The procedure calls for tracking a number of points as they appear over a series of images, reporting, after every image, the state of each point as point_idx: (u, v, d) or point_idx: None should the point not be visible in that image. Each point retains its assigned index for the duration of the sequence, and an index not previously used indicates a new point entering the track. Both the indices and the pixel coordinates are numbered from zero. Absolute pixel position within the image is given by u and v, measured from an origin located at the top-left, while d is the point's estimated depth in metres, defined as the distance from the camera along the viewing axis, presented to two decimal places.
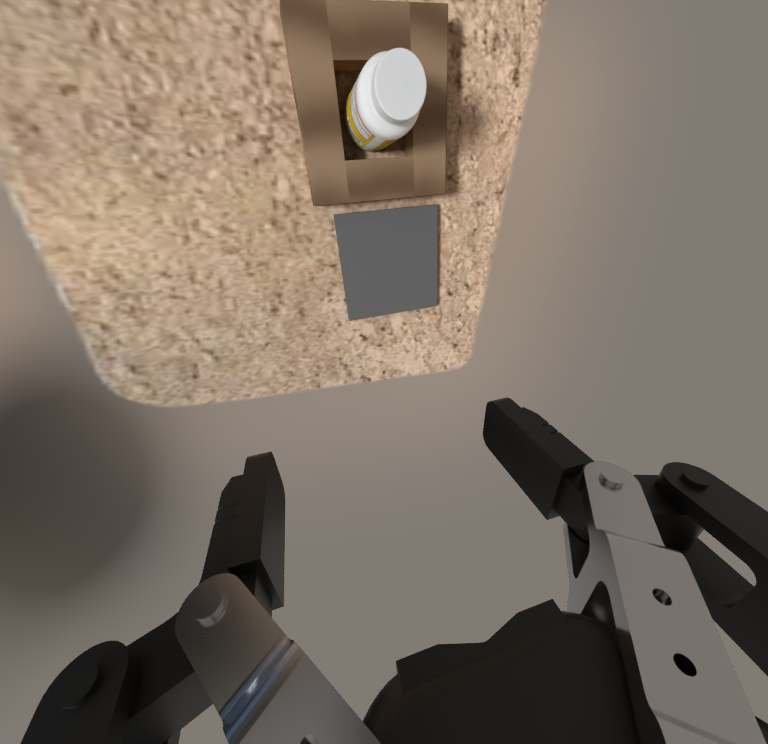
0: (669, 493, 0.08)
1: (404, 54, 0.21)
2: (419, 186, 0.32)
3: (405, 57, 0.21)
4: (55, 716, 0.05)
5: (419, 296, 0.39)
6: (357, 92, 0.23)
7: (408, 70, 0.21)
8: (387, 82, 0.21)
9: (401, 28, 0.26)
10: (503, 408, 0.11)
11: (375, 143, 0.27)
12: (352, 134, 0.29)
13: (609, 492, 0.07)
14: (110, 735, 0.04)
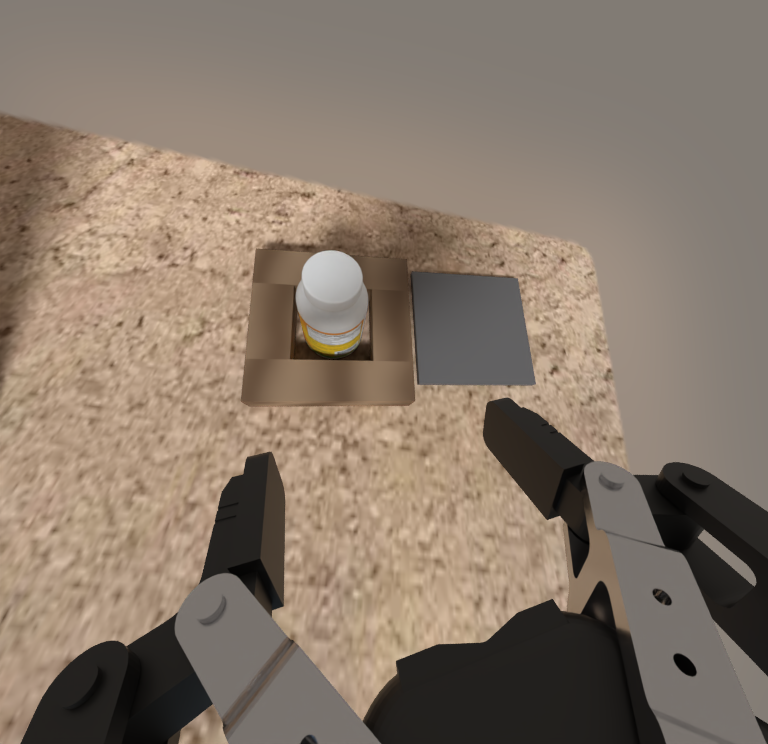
0: (669, 493, 0.08)
1: (307, 269, 0.20)
2: (399, 285, 0.29)
3: (309, 269, 0.20)
4: (55, 716, 0.05)
5: (506, 297, 0.32)
6: (327, 330, 0.22)
7: (320, 267, 0.20)
8: (329, 289, 0.19)
9: (270, 291, 0.26)
10: (503, 408, 0.11)
11: None
12: (348, 350, 0.27)
13: (609, 492, 0.07)
14: (110, 735, 0.04)
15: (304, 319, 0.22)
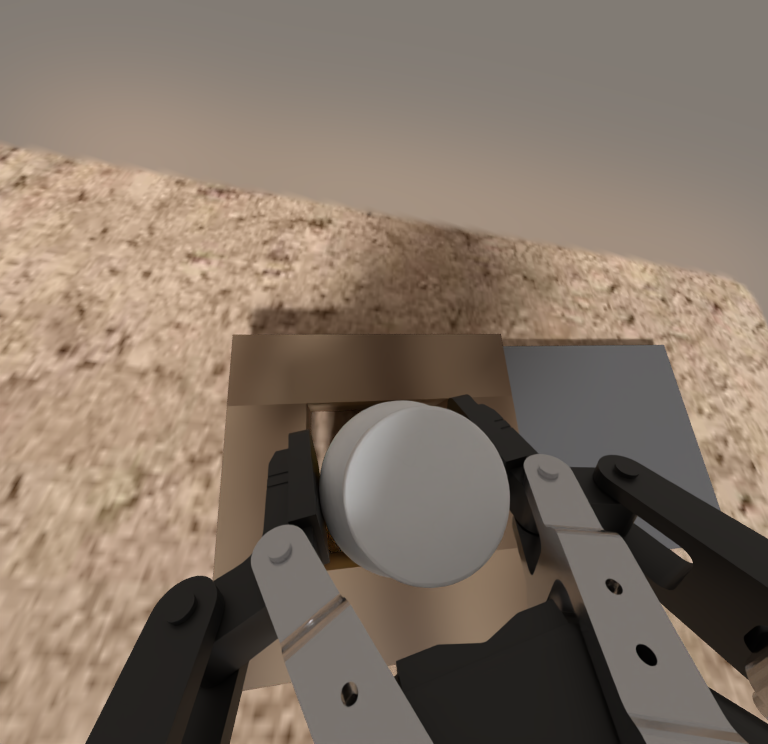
0: (607, 488, 0.08)
1: (360, 480, 0.07)
2: (495, 386, 0.16)
3: (366, 477, 0.07)
4: (161, 626, 0.06)
5: (654, 380, 0.20)
6: None
7: (394, 465, 0.07)
8: (429, 542, 0.07)
9: (262, 422, 0.14)
10: (460, 404, 0.11)
11: None
12: None
13: (543, 482, 0.08)
14: (199, 657, 0.05)
15: None
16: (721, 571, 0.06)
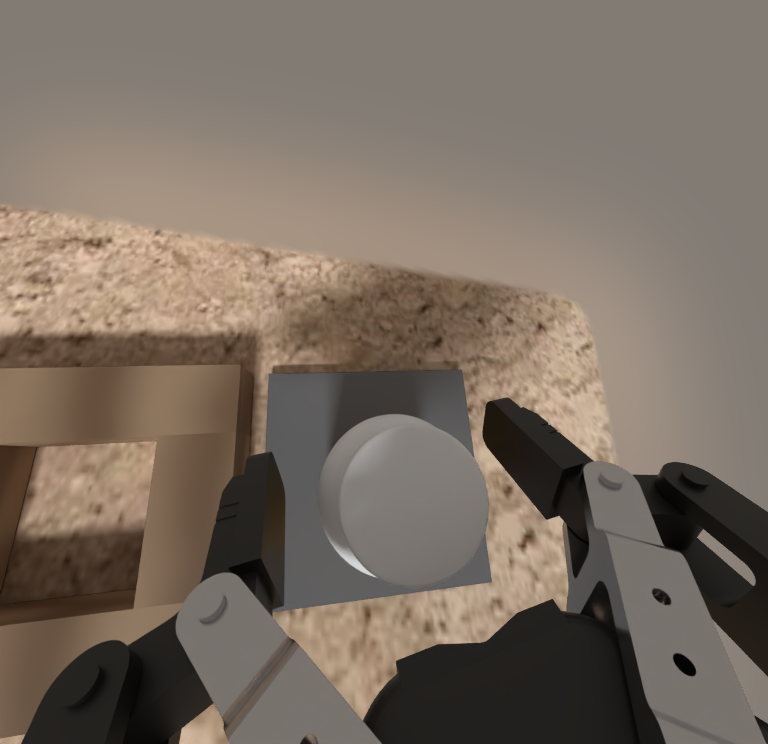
0: (668, 493, 0.08)
1: (353, 492, 0.08)
2: (218, 422, 0.15)
3: (359, 489, 0.08)
4: (57, 715, 0.05)
5: (441, 408, 0.19)
6: None
7: (384, 479, 0.08)
8: (414, 548, 0.07)
9: None
10: (503, 408, 0.11)
11: None
12: None
13: (608, 492, 0.07)
14: (111, 733, 0.04)
15: None
16: None
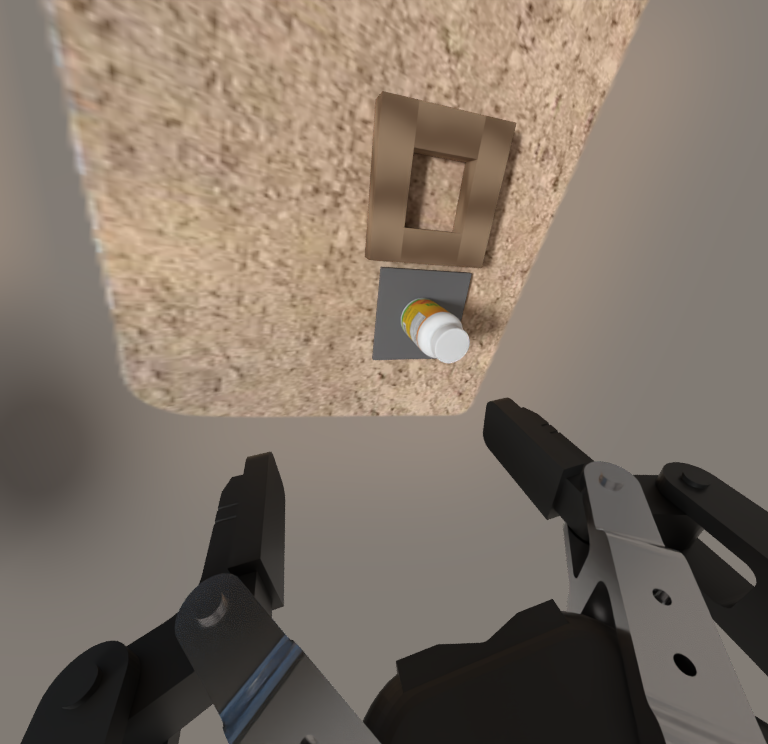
0: (669, 493, 0.08)
1: (458, 331, 0.31)
2: (461, 259, 0.35)
3: (458, 333, 0.31)
4: (55, 716, 0.05)
5: None
6: (419, 333, 0.33)
7: (459, 339, 0.31)
8: (443, 345, 0.31)
9: (475, 134, 0.30)
10: (503, 408, 0.11)
11: None
12: (405, 331, 0.38)
13: (609, 492, 0.07)
14: (110, 735, 0.04)
15: (429, 318, 0.33)
16: None
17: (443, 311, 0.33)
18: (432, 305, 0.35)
